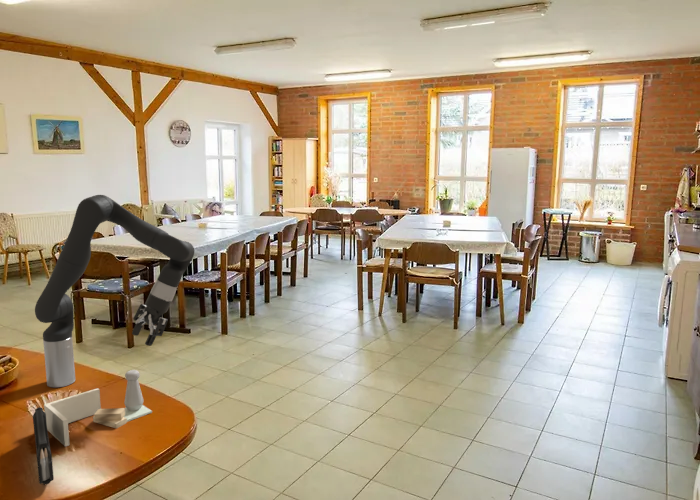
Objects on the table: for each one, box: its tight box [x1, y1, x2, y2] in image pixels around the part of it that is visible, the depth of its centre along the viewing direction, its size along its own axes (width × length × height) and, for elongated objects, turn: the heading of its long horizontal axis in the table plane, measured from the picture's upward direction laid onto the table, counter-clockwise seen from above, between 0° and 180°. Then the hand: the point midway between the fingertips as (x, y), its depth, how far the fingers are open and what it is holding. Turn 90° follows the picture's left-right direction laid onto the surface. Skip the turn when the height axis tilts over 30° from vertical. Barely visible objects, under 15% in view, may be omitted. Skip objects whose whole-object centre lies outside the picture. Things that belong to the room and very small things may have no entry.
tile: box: [124, 404, 153, 423], centre depth 170 cm, size 8×8×1 cm
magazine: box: [32, 407, 55, 486], centre depth 142 cm, size 17×3×30 cm
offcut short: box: [93, 407, 126, 421], centre depth 164 cm, size 8×4×2 cm, turn 96°
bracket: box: [43, 388, 102, 448], centre depth 160 cm, size 15×16×8 cm
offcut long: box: [92, 416, 128, 429], centre depth 164 cm, size 10×4×2 cm, turn 66°
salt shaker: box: [124, 369, 145, 412], centre depth 171 cm, size 6×6×13 cm
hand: (141, 340), depth 175 cm, fingers open, 8 cm apart
